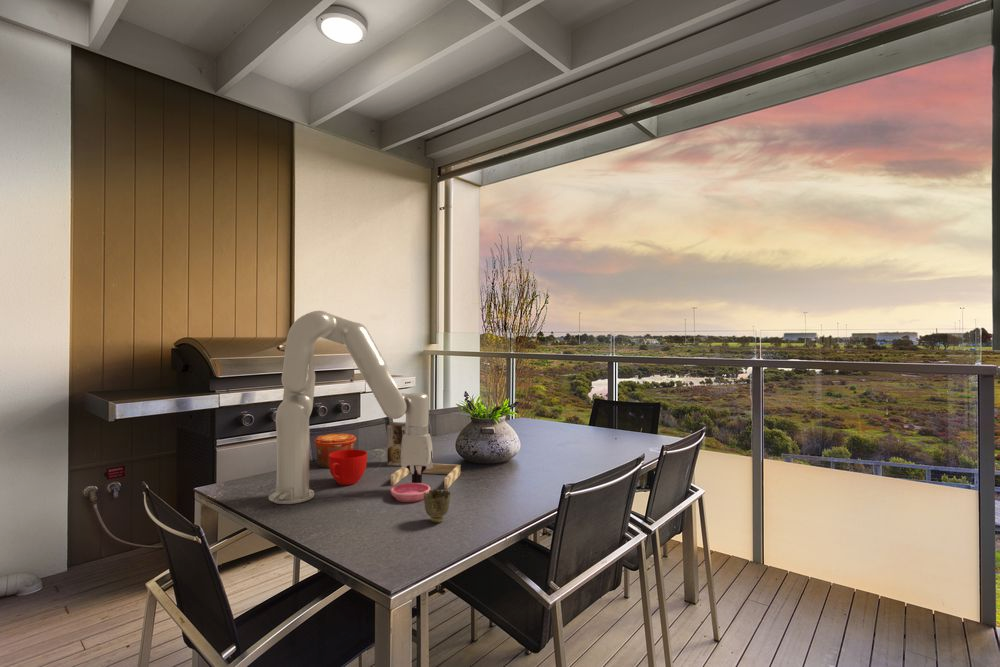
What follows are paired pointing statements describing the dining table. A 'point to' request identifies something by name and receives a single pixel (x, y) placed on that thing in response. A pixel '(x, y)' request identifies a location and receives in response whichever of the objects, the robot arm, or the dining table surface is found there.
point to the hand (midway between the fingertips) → (417, 485)
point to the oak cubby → (448, 469)
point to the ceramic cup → (347, 465)
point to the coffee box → (394, 442)
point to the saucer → (410, 492)
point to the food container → (332, 446)
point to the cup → (436, 504)
